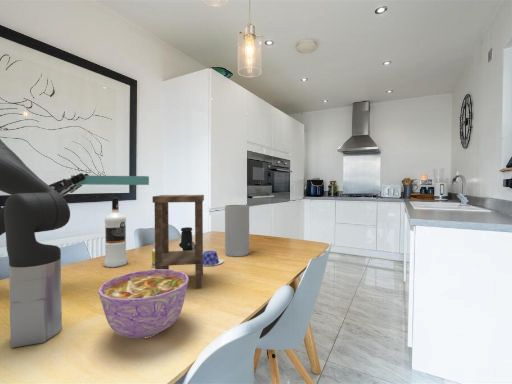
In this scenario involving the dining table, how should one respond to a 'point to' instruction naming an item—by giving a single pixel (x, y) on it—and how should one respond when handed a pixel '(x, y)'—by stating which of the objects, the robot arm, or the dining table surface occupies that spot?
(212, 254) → the blue teacup with saucer
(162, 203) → the stand
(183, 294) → the bowl of food
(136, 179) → the teal bar
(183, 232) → the scope
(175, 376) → the dining table surface
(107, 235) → the vodka
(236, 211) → the cylinder vase
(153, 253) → the supplement bottle
